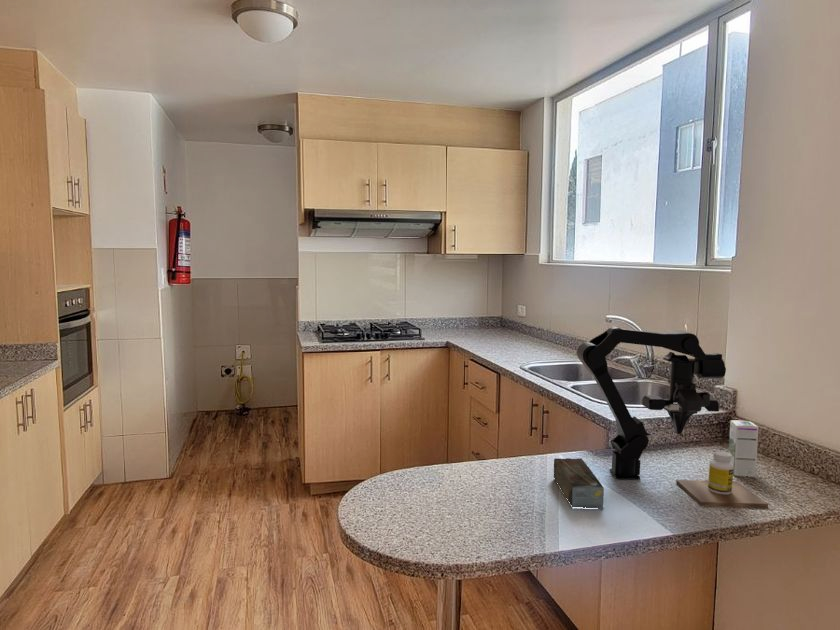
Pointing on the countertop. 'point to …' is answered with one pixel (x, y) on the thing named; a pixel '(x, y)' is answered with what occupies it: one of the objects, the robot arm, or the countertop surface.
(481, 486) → the countertop surface
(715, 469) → the supplement bottle
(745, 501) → the walnut board
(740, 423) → the syrup box
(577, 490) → the beverage carton
